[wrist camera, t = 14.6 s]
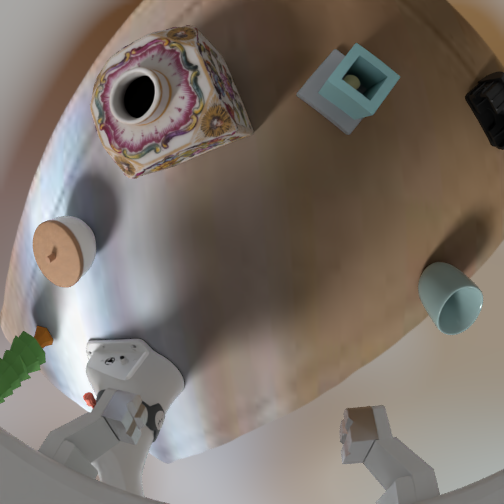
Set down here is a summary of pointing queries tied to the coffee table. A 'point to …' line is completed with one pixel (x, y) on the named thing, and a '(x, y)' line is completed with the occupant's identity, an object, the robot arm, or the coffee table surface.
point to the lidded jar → (64, 249)
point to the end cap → (489, 107)
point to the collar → (370, 76)
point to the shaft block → (322, 104)
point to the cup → (449, 297)
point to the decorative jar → (166, 102)
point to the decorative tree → (22, 360)
